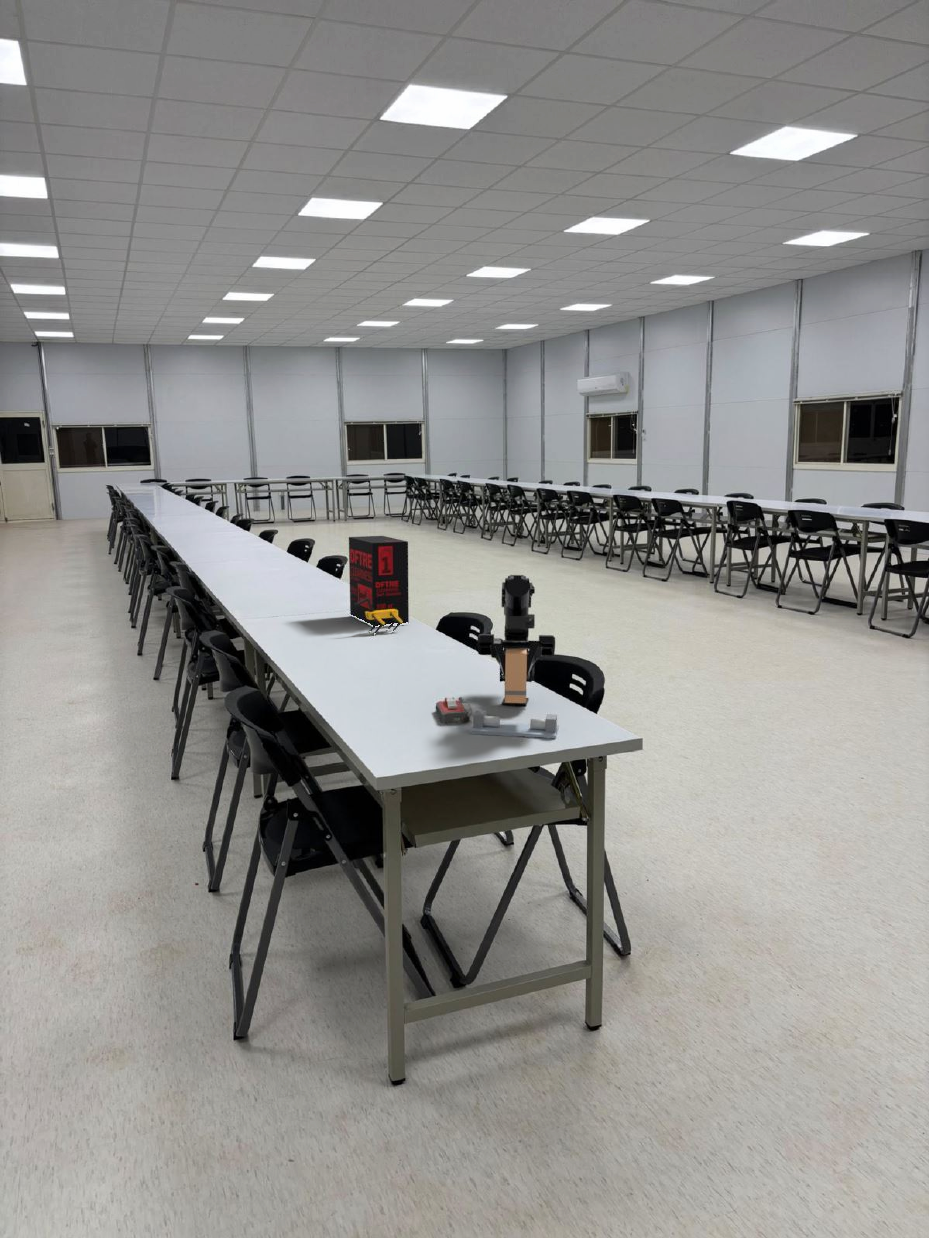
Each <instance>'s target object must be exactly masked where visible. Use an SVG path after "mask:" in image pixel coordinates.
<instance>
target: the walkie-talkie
mask: <svg viewBox="0 0 929 1238" xmlns="http://www.w3.org/2000/svg"><path fill="white" fill-rule="evenodd" d="M457 699H458V700H456V699H455V697H454V696H452V697H447V696H446V697H445V698H444V700H441V701H437V702H436V703H435V712H436V714H437V716H438V718H439V720H440V722H442V723H441V724H443V725H448V724H449V725H450V724H453V723H454V724H466V723H469V722H470V721H471V718H470V716H471V715H472V706H471V703H470V702H465V700H464V698H463V697H462V696H460V697H458V698H457Z"/></svg>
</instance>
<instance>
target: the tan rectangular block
mask: <svg viewBox="0 0 929 1238" xmlns="http://www.w3.org/2000/svg"><path fill="white" fill-rule="evenodd" d="M526 675H527V649H506V664H505V681H504V697H505V703H526V698H527V682H526Z"/></svg>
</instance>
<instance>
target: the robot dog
mask: <svg viewBox="0 0 929 1238" xmlns="http://www.w3.org/2000/svg"><path fill="white" fill-rule="evenodd" d="M366 601H367V602H368V605H369V607H370V609H369V611H366V612H365V614H366V618H367V619H369V620H372V619H373V620H374V621H375V622H376V624H375V625H374V626H373V627H371V628H370V629H369V631H371V632H372V631H373V630H374V629H376V630H374V632H373V633H376V634H377V633H378V632H379V630H380V629H381V628H383V627H382V626H384V625H385V623H384V621H382V620H381V619H382V618H392V619H393V620H394V621H393V623H392V624H391V625H390V626H389V627H387V629H389V630H391V628H392V627H394V628H393V629H392V630H393V631H394V630H395V631H396V629H398V627H400V626H399V625H400V624H402V623H403V621H402V620H401V619H400V618H399V617H398V610H396V609H387V610H376V611H374V608H373V607H372V604H371V602H370V600H369V598H365V599H364V600H362V601H360V602H358V603H355V604H354V606H357V605H360V604H362V603H364V602H366ZM397 621H398V622H399V623H398V624H397V626H393V624H394V623H395V622H397ZM379 623H380V624H381V625H380V626H379V627H378V628H375V626H376V625H377V624H379ZM395 631H394V632H395Z"/></svg>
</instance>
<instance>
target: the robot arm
mask: <svg viewBox="0 0 929 1238" xmlns="http://www.w3.org/2000/svg"><path fill="white" fill-rule="evenodd" d="M535 589H536V587H535V586H534V585H533V582H530V578H528V577H527V576H526V575H524V574H510V575H508V576H507V577H505V578H504V582H501V608H503V615H504V616H505V618H504V620H505V622H504V639H502V638H501V637H499V638H498V637H495V634H494V633H493V634H492V633H480V634H479V635H478V636H477V654H478V655H480V656H490V657H491V658H492V659H495V660H496V661H497V663H498V664H499V682H500V683H501V682H505V664H506V649H527V675H526V683H532V682H533V681H535V663H536V662H537V660H539V659H541V658H542V657H553V656H555V652H556V637H555V636H554V635H550V634H539V635H538V640H529V635H530V634H529V631H530V629H535V626H536V624H535V621H536V620H535V618H536V617H535V616H536V615H535V614H533V613H532V614H531V613H530V614H529V609H530V608H532V597H533V594H534V595H535V591H536V590H535ZM529 700H530V698H529V697H526V703H505V696H504V698H503V699H502V702H501V705H502V706H503V705H504V706H515V707H516V706H517V707H527V704H528V702H529Z"/></svg>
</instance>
